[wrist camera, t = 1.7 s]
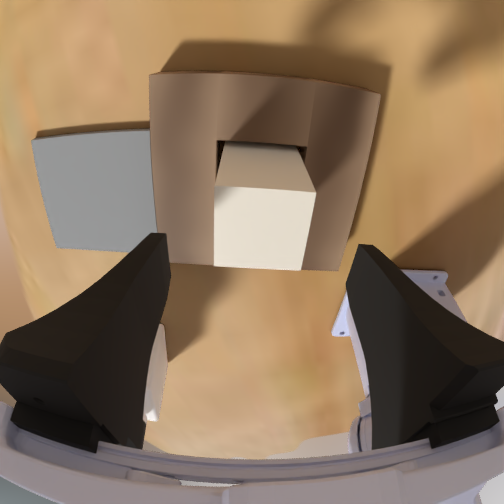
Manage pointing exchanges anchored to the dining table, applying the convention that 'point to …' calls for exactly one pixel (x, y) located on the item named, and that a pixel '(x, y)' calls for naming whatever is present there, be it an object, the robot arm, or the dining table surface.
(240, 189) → the peg
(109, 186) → the mat
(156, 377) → the white bottle
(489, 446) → the robot arm
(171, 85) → the pocket block
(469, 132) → the dining table surface
